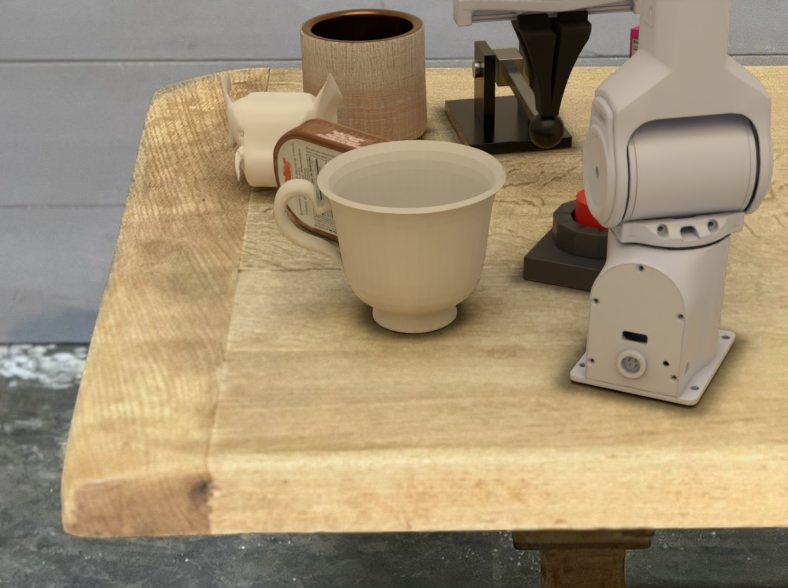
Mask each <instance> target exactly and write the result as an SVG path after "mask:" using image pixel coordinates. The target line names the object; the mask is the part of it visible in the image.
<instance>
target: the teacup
mask: <svg viewBox="0 0 788 588" xmlns="http://www.w3.org/2000/svg"><path fill="white" fill-rule="evenodd" d="M506 180H507V172H506V169H505V167H504V166H503V165H502V163H501V162H500V161H499V160H498V159H497V158H495V157H494V156H493V155H492V154H488V153H486V152H484V151H482V150H479V149H476V148H473V147H470V146H466V145H464V144H461V143H455V142H449V141H441V140H430V139H416V140H404V141H392V142H384V143H378V144H373V145H368V146H364V147H360V148H357V149H353V150H351V151H348V152H345V153H343V154H341V155H339V156H337V157H335V158H333V159H332V160H330V161H329V162H328V163H327V164H326V165H325V166H324V167H323V168H322V170H321V171H320V172H319V174H318V177H317V184H318V187H319V189H320V190H321V191H322V193H323V194H324V195H325V196H324V197H323V199H322V200H320V199H319V196H318V193H317V190H316V188H315V186H314V185H313V184H312V183H311V182H310V181H307V180H304V179H292V180H289V181H287V182H285V183H284V184H283V185H282V186H281V187H280V188H279V190H278V189H277V191H276V194H275V196H274V200H273V217H274V218H273V219H274V222H275V225H276V227H277V228H278V230H279V232H280V233H281V235H282V236H284V237H285V239H286V240H287V241H289V242H290V243H292V244H293V245H294V246H296V247H299V248H301V249H304V250H307V251H311V252H314V253H317V254H318V253H319V254H321V255H323V256H326V257H327V258H328V259H330V260H331V261H332V262H334V264H336V266H338V268H339V269H340V270H341V271H342V273H344V275H345V277H346V280H347V282H348V284H349V287H350V288H351V290H352V292H353V293H354V294H355V295H356V297H358V298H359V300H361V301H362V302H363V303H365V304H367V305H368V306H370V307H372V318H373V320H374V321H375V322H376V323H377V324H378V325H379V326H381V328H385V329H387V330H390V331H393V332H397V333H404V334H422V333H429V332H430V333H431V332H434V331H437V330H440V329H443V328H444V327H446V326H449V325H450V324H452V323H453V322H454V320H455V319H456V318H457V315H458V309H457V308H458V307H457V305H459V304H460V303H462V302H463V301H465V300H466V299H468V297H469V296H471V294H472V293H473V292H474V291H475V289H476V288H477V286H478V284H479V282H480V279H481V276H482V273H483V269H484V264H485V259H486V254H487V247H488V240H489V239H488V238H489V231H490V225H491V218H492V217H491V216H492V211H493V205H494V200H495V198H496V195H497V193H498V192H499V191H500V190H501V189H502V187H503V186H504V185H505V183H506ZM298 196H302V197H306V198H308V199H309V200H310V201H311V203H312V206H313V209H314V211H315V213H316V214H317V215H321V214H323V213H324V212H326V211H332V212H333V216H334V220H335V225H336V231H337V236H338V241H337V242H338V246H339V250H338V249H337V248H336V247H335V246H334V245H333V244H332V243H330V242H329V241H328V240H326V239H324V238H321V237H319V236H316V235H313V234H311V233H308V232H305V231H303V230H301V229H300V228H298V227H297V226H296V225H295V223H293V222H292V221H291V219H290V218H289V215H288V213H287V208H286V207H287V203H288V202H289V200H291V199H292V198H294V197H298Z"/></svg>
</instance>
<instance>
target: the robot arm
mask: <svg viewBox="0 0 788 588" xmlns="http://www.w3.org/2000/svg"><path fill="white" fill-rule="evenodd" d="M732 2H733V0H452V3H453V5H452V8H453V9H452V10H453V11H452V13H453V14H452V20H453V21H454V23H455V24H456V25H457V27H458V28H459V27H471V26H472V25H473V24H479V23H489V22H490V23H491V22H505V21H506V22H507V21H510V23H511V26H512V29H513V30H514V33H515V35H516V38H517V40H518V43H519V42H520V45H521V47H522V50H523V53H524V56H525V59H526V62H527V65H528V69H529V72H530V76H531V80H532V85H533V90H534V97H535V107H536V110H537V112H538V113H539V114H540V116H541V117H548V116H559V115H560V110H561V105H562V101H563V98H564V94H565V92H566V88H567V84H568V82H569V79H570V77H571V74H572V71H573V69H574V67H575V64H576V63H577V61H578V59H579V57H580V55H581V53H582V51H583V50H584V48H585V46H586V45H587V43H588V41H589V40H590V37H591V35H592V25H593V24H592V23H591V21H589V15H591V16H592V15H603V14H617V13H633V14H635V15H639V24H638V26H639V40H638V50H637V51H636V53H635V54H634V55H633V56H632V57H631V58H630V59H629V58H628V59H627V60H626V61H625V62H624V63H623V64H621V65H620V66H619V67H618V68H617V69H616V70H614V72H612V73H611V74H610V75H609V76H608V77H606V78H605V79H604V80H603V81H602V82H601V83H600V84H599V85H598V86H597V87H596V88H595V90H594V98H592V101H591V108H590V116H589V117H590V118H589V124H588V129H587V132H586V135H585V137H584V141H583V147H582V155H581V156H582V159H581V171H582V173H581V174H582V185H583V189H584V193H585V197H586V202H587V205H588V208H589V210H590V212H591V214H592V215H593V217H594V218H596V219H597V221H598V222H599V223H600V224H601V225H602V226H603V227H606V228H608V227H609V229H608V244H607V259H606V263H605V266H604V267H603V269H602V270H601V272H600V274H599V275H598V277H597V278H596V280H595V282H594V284H593V286H592V289H591V291H590V293H589V298H588V299H589V300H588V316H587V333H586V347H585V348H586V349H585V352H584V353H583V355H582V356H581V357H580V359H579V360H578V361H577V362H576V364H575V365H574V366H573V368H571V370H570V371H569V379H570V380H571V381H572V382H577V383H580V384H586V385H590V386H593V387H600V388H604V389H609V390H614V391H618V392H623V393H628V394H632V395H637V396H641V397H642V396H643V397H646V398H651V399H656V400H661V401H665V402H669V403H675V404H680V405H685V406H694V405H697V404H698V402H699V401H700V399H701V398H702V396H703V394H704V392H705V391H706V389H707V388H708V386H709V385H710V382H711V381H712V379H713V378H714V376H715V375H716V373H717V371H718V369H719V367H720V366H721V364H722V363H723V361H724V359H725V358H726V356H727V354H728V352H729V351H730V350H731V347H732V346H733V345H734V343H735V341H736V333H735V332H734V331H732V330H727V329H722V328H721V319H722V312H723V304H724V296H725V289H726V281H727V280H726V279H727V271H728V264H729V257H730V247H731V239H732V234H735V233H740V232H743V230H744V222H745V216H747V215H751V214H753V213H755V212H756V211H757V210H758V209H759V208H760V206H761V205H762V203H763V201H764V200H765V198H766V196H767V195H768V194H769V193H768V192H769V190H770V187H771V185H772V184H771V183H772V178H773V172H774V148H773V147H774V145H773V139H772V131H771V129H772V128H771V125H772V122H771V121H772V97H771V95H770V94H769V92H768V90H767V88H766V86H765V85H764V83H763V82H762V81H761V80H760V79H759V78H758V77H757V76H756V75H755V74H754V73H753V72H751V71H750V70H749V69H747V68H746V67H745V66H743V65H742V64H741V63H739V62H738V60H736V59H735V58H733V57H732V56H730V55H729V54H728V49H727V43H728V44H729V38H728V33H729V34H730V27H729V23H731V15H732V14H731V13H732V4H733V3H732Z"/></svg>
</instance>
